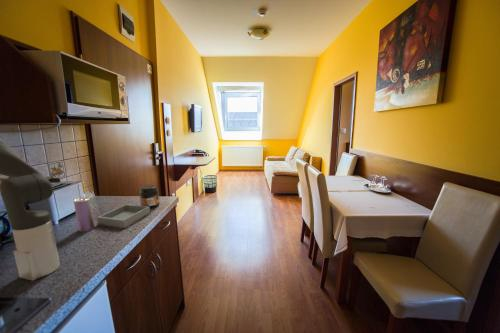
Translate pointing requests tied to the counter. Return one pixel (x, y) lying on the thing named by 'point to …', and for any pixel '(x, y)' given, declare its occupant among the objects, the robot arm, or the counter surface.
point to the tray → (123, 216)
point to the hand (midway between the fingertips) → (52, 182)
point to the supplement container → (149, 196)
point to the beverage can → (84, 214)
